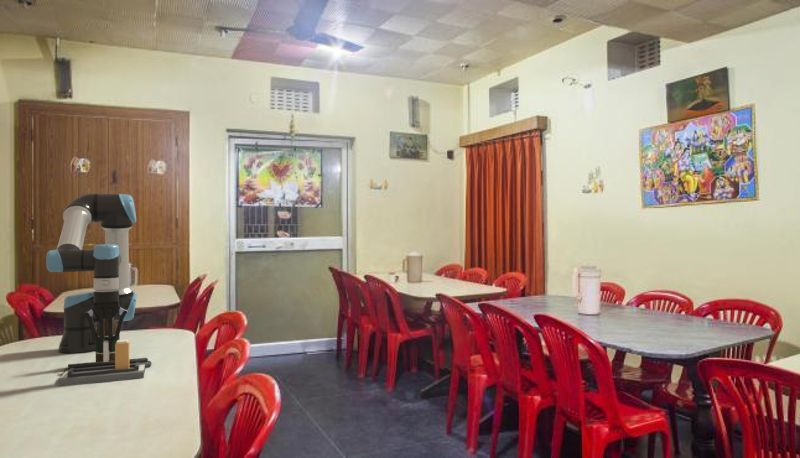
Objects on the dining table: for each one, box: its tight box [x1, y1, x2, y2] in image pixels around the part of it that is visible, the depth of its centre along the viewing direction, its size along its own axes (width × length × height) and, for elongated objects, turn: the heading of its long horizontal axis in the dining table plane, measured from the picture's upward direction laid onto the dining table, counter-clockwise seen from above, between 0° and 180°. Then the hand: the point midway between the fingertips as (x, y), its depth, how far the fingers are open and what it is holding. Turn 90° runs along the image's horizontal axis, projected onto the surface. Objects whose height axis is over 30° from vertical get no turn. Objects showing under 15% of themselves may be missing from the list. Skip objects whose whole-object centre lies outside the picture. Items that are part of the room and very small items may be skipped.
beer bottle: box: [95, 317, 121, 362], centre depth 200 cm, size 8×8×24 cm
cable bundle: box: [63, 357, 152, 374], centre depth 191 cm, size 27×4×3 cm, turn 113°
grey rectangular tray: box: [58, 362, 146, 387], centre depth 182 cm, size 12×24×3 cm, turn 113°
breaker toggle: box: [115, 338, 130, 370], centre depth 184 cm, size 4×4×10 cm
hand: (106, 360), depth 182 cm, fingers closed
